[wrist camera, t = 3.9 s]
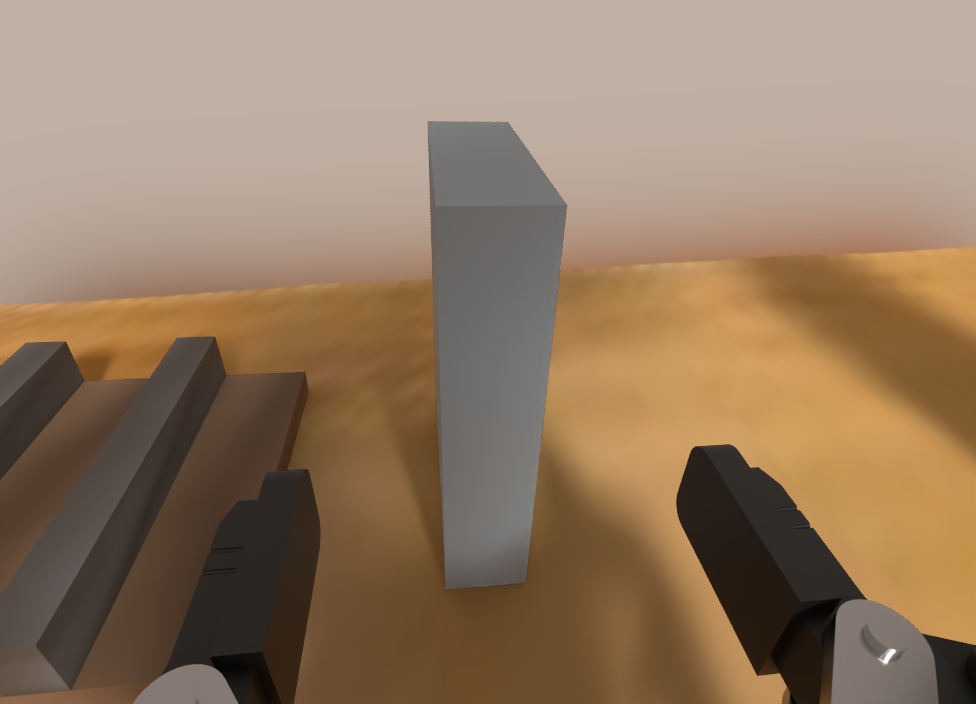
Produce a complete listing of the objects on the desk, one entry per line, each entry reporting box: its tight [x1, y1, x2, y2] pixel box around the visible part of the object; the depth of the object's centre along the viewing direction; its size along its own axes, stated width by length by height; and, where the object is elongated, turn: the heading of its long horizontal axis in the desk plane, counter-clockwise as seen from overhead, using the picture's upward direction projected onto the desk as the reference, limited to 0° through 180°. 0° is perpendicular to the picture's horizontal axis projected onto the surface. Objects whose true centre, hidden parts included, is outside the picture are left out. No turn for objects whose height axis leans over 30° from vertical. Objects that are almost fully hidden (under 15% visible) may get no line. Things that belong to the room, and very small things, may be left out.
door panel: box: [428, 121, 567, 590], centre depth 17 cm, size 2×8×12 cm, turn 6°
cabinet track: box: [0, 337, 308, 704], centre depth 18 cm, size 14×13×3 cm
